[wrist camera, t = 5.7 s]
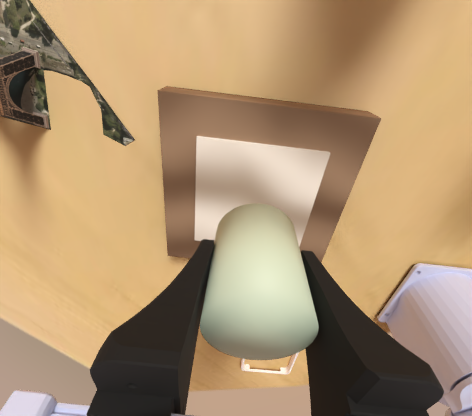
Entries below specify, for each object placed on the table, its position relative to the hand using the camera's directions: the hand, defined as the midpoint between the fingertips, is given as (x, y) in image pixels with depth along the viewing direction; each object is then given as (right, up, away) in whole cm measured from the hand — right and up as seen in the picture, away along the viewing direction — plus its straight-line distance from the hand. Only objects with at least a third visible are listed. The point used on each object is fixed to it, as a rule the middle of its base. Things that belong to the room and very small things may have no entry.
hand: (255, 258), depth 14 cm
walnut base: (0, +5, +7) cm, 8 cm away
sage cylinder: (0, +1, +1) cm, 2 cm away
